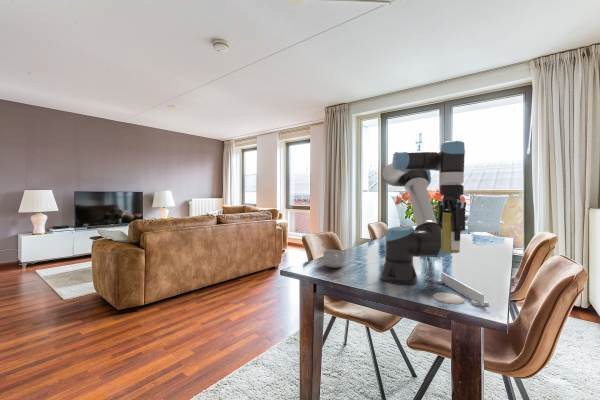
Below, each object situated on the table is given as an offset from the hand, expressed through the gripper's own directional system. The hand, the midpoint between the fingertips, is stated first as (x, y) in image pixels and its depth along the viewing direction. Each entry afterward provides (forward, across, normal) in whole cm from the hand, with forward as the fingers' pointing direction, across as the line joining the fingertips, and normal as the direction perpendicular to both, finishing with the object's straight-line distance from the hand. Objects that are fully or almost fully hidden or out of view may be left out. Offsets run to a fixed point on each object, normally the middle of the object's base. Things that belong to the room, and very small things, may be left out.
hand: (450, 247), depth 102 cm
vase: (+2, 0, 0) cm, 2 cm away
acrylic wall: (+19, +6, -8) cm, 21 cm away
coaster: (+19, 0, 0) cm, 19 cm away
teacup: (+19, +42, +36) cm, 59 cm away
